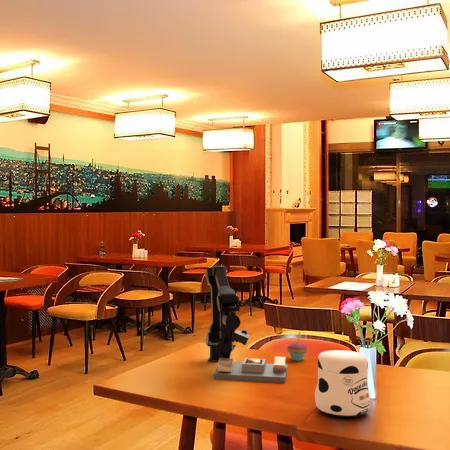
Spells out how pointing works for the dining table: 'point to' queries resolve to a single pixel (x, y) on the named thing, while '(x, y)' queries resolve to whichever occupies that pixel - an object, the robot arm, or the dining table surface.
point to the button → (254, 361)
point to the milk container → (342, 383)
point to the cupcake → (297, 350)
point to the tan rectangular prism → (225, 364)
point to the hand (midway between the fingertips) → (227, 364)
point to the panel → (253, 372)
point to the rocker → (280, 362)
